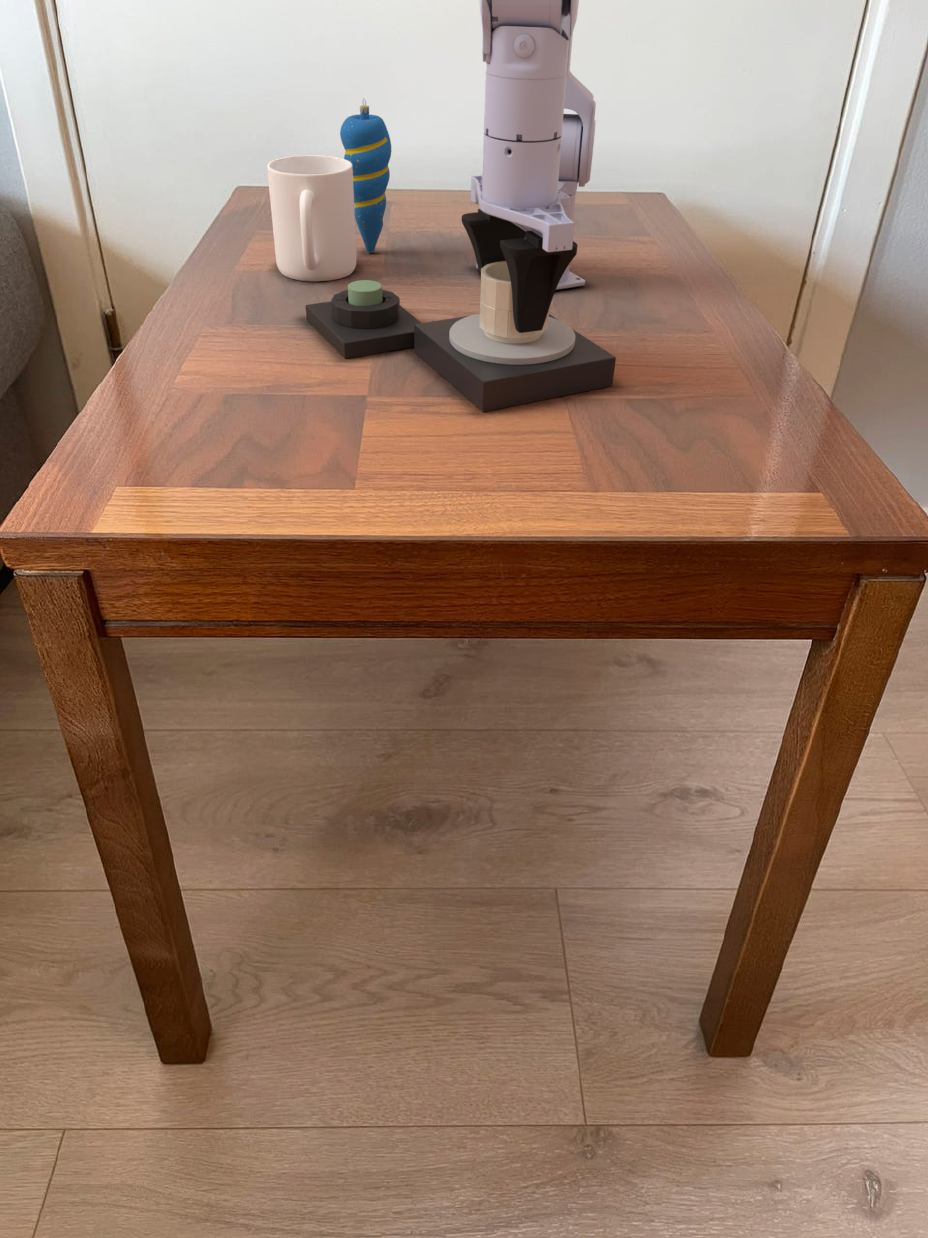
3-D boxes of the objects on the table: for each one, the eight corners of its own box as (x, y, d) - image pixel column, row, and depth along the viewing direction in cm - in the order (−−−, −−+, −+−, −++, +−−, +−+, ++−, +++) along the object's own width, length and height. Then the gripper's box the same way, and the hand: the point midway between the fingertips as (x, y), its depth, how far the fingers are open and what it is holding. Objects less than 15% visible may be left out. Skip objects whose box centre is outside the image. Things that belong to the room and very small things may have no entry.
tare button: (343, 299, 87) (342, 282, 86) (374, 295, 88) (374, 278, 87) (355, 310, 85) (355, 293, 84) (387, 305, 86) (387, 288, 85)
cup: (358, 257, 105) (354, 155, 99) (353, 295, 96) (348, 185, 89) (281, 256, 105) (272, 154, 99) (268, 294, 95) (256, 184, 89)
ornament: (357, 261, 104) (349, 104, 95) (339, 248, 107) (330, 95, 98) (401, 255, 106) (398, 101, 97) (382, 242, 109) (377, 92, 100)
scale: (414, 352, 85) (413, 317, 83) (534, 331, 89) (536, 297, 87) (482, 412, 75) (483, 374, 74) (612, 386, 80) (617, 349, 78)
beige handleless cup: (468, 324, 82) (470, 264, 79) (529, 317, 83) (533, 257, 80) (495, 349, 77) (498, 286, 74) (558, 340, 79) (563, 278, 76)
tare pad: (306, 319, 90) (303, 287, 88) (386, 307, 93) (385, 275, 91) (345, 358, 83) (343, 324, 81) (430, 344, 86) (430, 311, 84)
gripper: (619, 151, 67) (598, 342, 75) (530, 112, 78) (520, 283, 86) (526, 158, 65) (515, 354, 73) (447, 116, 76) (446, 291, 84)
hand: (513, 316), depth 79 cm, fingers closed on beige handleless cup, 6 cm apart
